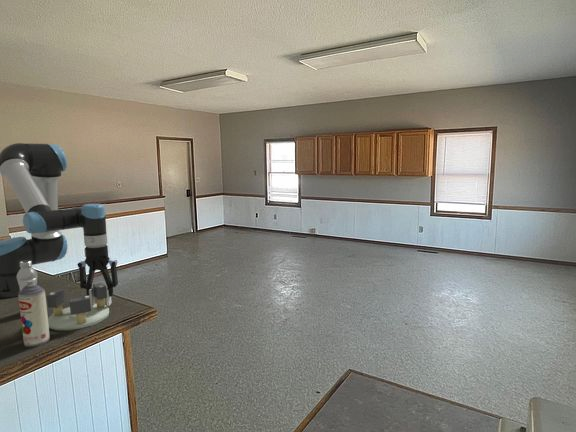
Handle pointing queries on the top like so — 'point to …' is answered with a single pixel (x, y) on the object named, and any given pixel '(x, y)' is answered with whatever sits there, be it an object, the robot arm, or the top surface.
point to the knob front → (80, 308)
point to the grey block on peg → (100, 294)
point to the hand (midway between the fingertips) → (101, 304)
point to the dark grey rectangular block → (57, 301)
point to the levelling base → (70, 321)
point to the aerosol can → (34, 315)
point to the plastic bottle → (26, 274)
